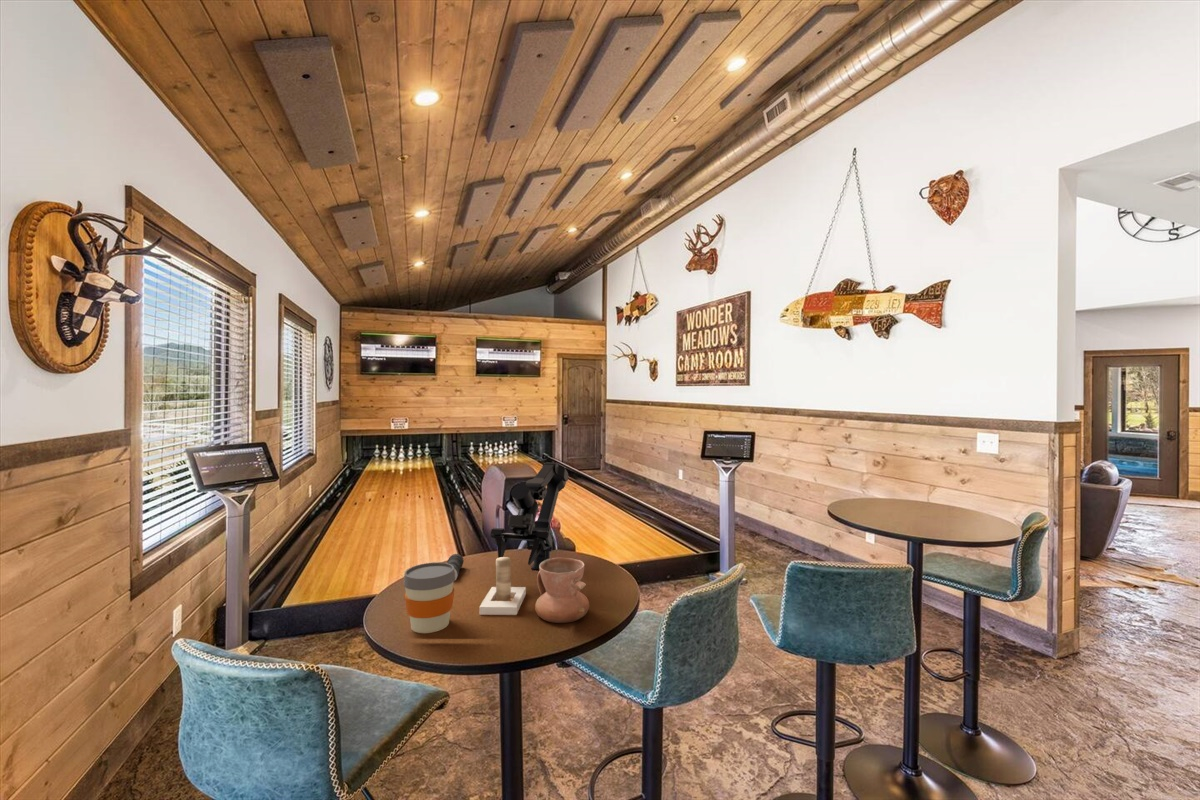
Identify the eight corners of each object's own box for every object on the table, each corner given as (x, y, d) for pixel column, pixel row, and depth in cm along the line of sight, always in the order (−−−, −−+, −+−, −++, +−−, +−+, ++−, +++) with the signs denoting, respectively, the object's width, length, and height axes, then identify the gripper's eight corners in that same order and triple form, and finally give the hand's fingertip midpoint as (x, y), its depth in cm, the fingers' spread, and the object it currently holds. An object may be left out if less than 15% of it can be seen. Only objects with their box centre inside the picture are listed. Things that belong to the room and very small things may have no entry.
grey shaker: (448, 568, 177) (448, 552, 177) (464, 567, 178) (464, 551, 177) (439, 584, 162) (439, 567, 162) (457, 583, 162) (457, 566, 162)
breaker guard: (491, 597, 151) (491, 586, 151) (525, 597, 151) (525, 587, 151) (479, 618, 137) (479, 607, 137) (516, 618, 137) (516, 607, 137)
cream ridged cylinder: (494, 600, 145) (494, 558, 145) (508, 597, 147) (508, 556, 146) (498, 605, 141) (498, 562, 141) (512, 603, 143) (512, 560, 143)
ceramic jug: (603, 617, 137) (603, 565, 137) (562, 636, 127) (561, 579, 126) (560, 598, 150) (559, 550, 149) (519, 614, 140) (518, 562, 139)
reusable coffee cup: (437, 613, 140) (437, 558, 140) (465, 626, 132) (465, 568, 132) (394, 630, 131) (393, 571, 130) (421, 645, 123) (420, 583, 122)
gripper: (491, 501, 158) (476, 548, 148) (549, 504, 155) (538, 552, 144) (501, 520, 166) (487, 566, 156) (557, 523, 163) (546, 570, 152)
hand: (514, 563), depth 152 cm, fingers open, 9 cm apart
